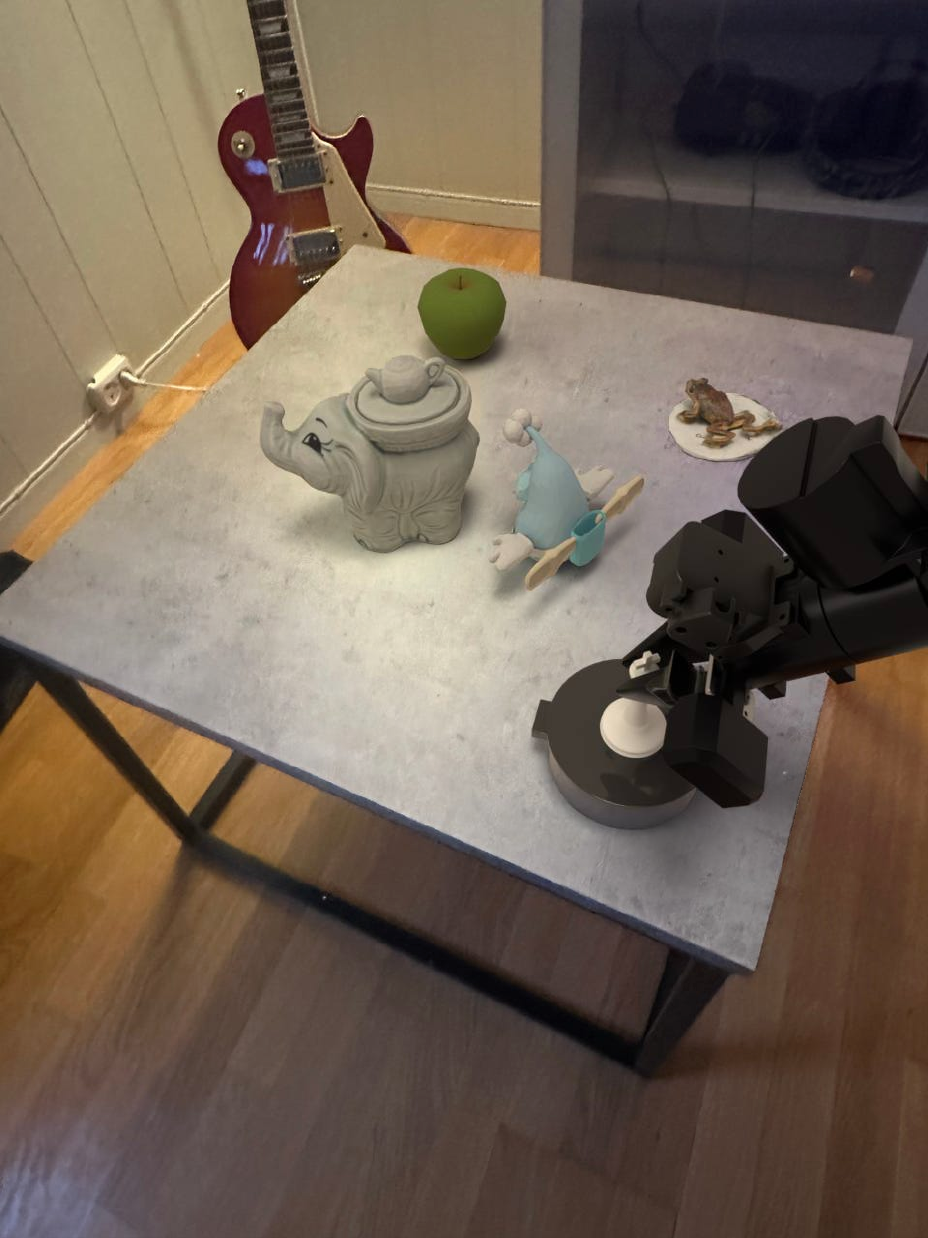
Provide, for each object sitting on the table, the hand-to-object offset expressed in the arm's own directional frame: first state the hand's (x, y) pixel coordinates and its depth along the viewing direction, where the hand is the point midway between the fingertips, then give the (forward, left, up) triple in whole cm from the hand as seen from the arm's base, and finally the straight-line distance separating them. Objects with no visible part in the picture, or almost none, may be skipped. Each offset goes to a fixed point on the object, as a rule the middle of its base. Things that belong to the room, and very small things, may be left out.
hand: (622, 678), depth 52 cm
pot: (-1, 0, -12) cm, 12 cm away
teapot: (+27, -21, -12) cm, 36 cm away
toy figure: (+10, -21, -12) cm, 26 cm away
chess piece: (-1, 0, -7) cm, 7 cm away
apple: (+28, -51, -12) cm, 59 cm away
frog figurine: (-4, -43, -12) cm, 44 cm away
